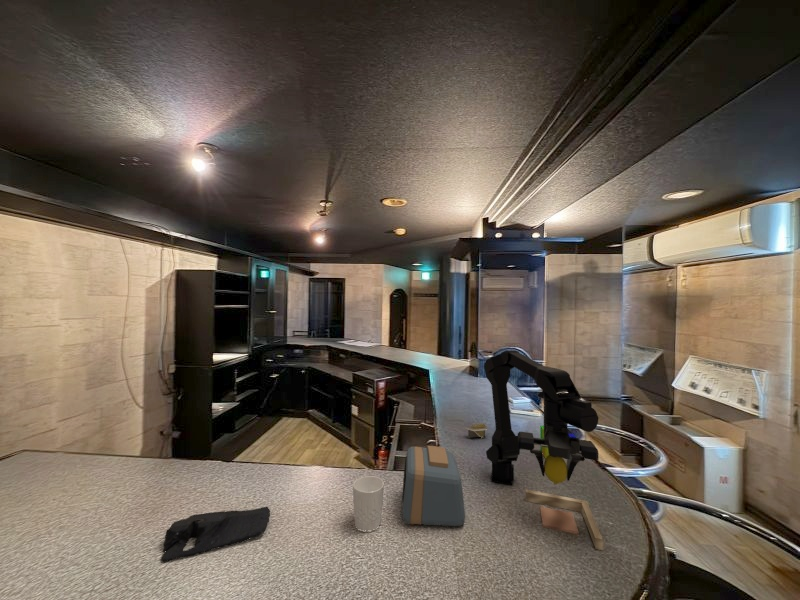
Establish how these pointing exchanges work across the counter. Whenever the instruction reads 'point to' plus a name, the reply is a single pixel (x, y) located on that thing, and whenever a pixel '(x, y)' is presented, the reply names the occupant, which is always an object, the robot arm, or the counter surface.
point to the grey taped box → (432, 488)
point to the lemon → (555, 469)
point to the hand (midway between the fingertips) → (555, 477)
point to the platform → (476, 430)
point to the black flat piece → (213, 531)
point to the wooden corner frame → (565, 514)
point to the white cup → (368, 502)
